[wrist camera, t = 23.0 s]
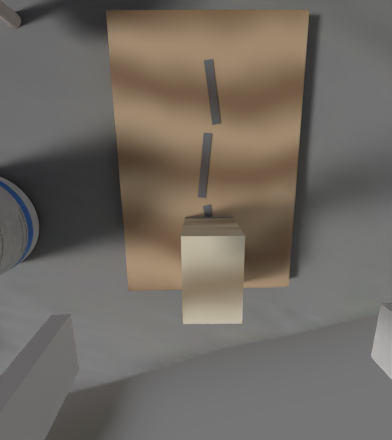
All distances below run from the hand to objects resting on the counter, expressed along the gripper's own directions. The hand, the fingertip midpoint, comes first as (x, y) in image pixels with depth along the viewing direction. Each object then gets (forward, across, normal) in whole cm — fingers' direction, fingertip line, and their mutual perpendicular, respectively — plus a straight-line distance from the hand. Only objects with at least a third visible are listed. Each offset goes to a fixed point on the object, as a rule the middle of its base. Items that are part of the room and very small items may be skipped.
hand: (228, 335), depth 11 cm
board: (+15, 0, +6) cm, 17 cm away
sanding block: (+14, 0, -2) cm, 14 cm away
